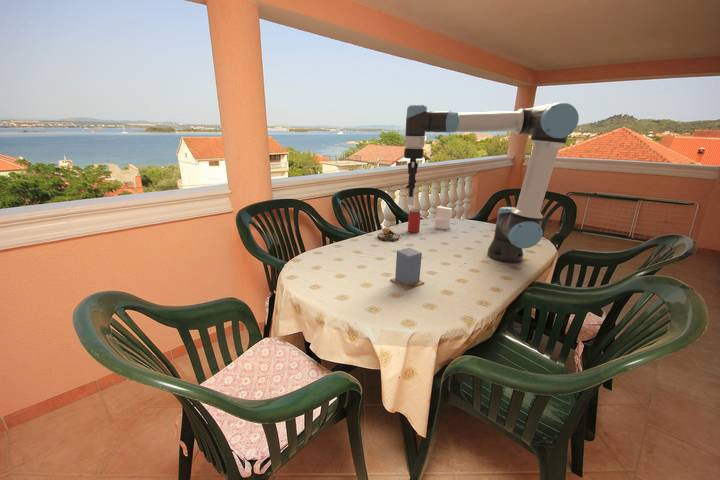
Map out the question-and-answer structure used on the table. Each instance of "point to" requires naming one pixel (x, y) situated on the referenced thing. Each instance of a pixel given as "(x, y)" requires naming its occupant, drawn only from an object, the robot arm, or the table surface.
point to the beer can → (414, 221)
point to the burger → (388, 235)
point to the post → (407, 286)
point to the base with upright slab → (443, 217)
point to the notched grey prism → (408, 266)
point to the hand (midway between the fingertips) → (410, 201)
